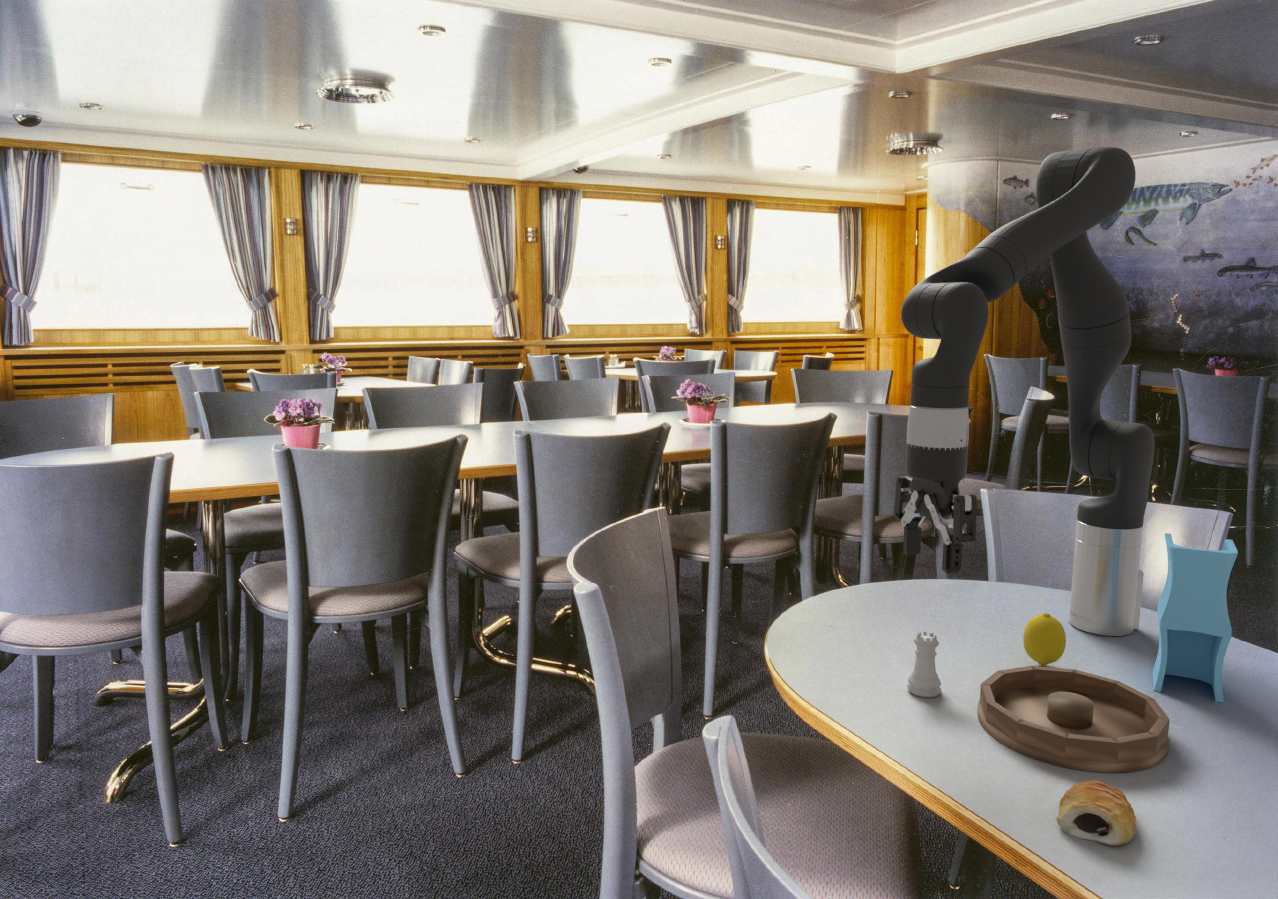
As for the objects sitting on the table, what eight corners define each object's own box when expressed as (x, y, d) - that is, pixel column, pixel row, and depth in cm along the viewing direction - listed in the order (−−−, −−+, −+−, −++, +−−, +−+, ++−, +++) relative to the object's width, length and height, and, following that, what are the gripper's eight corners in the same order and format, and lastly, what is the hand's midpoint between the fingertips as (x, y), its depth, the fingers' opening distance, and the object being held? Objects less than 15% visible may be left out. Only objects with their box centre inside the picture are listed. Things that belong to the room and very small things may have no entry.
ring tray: (1074, 681, 120) (1076, 657, 119) (1212, 756, 100) (1215, 727, 99) (942, 701, 114) (944, 676, 113) (1061, 785, 94) (1064, 755, 93)
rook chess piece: (941, 686, 118) (944, 630, 117) (941, 700, 114) (944, 643, 113) (907, 682, 120) (909, 627, 118) (905, 695, 116) (908, 639, 114)
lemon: (1068, 675, 121) (1072, 621, 120) (1026, 672, 123) (1030, 618, 121) (1058, 659, 127) (1061, 607, 125) (1017, 657, 128) (1021, 605, 127)
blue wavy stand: (1217, 679, 120) (1232, 539, 116) (1223, 702, 113) (1240, 554, 110) (1151, 668, 123) (1164, 532, 120) (1153, 690, 117) (1167, 546, 113)
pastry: (1068, 789, 94) (1071, 757, 93) (1140, 810, 90) (1143, 776, 89) (1053, 833, 86) (1056, 798, 85) (1131, 857, 82) (1135, 820, 82)
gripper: (999, 448, 106) (990, 576, 108) (929, 432, 119) (923, 546, 122) (946, 451, 103) (939, 581, 106) (880, 434, 117) (875, 550, 120)
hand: (930, 562), depth 114 cm, fingers open, 8 cm apart
